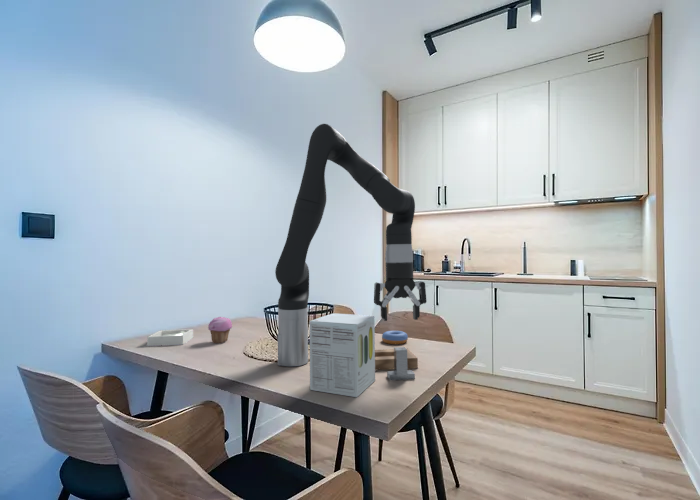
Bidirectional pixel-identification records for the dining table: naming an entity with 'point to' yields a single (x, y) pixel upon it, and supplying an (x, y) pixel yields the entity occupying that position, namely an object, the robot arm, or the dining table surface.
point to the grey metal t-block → (400, 366)
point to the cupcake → (220, 329)
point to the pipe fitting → (175, 333)
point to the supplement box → (342, 353)
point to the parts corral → (169, 338)
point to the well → (392, 359)
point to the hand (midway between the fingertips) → (400, 319)
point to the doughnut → (394, 337)
